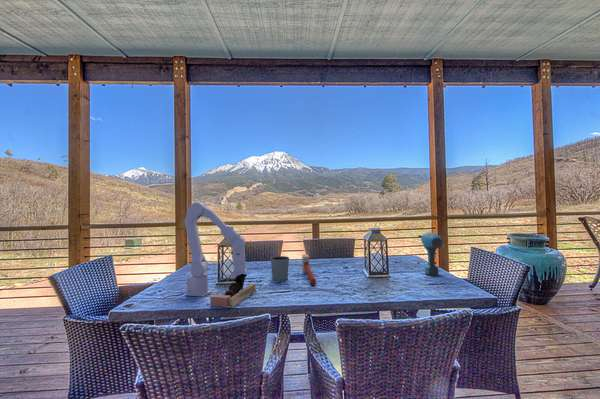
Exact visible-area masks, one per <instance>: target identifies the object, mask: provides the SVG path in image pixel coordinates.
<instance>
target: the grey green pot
mask: <svg viewBox="0 0 600 399" xmlns="http://www.w3.org/2000/svg"><path fill="white" fill-rule="evenodd" d="M289 264H290V257H289V256H284V255H283V256H281V255H279V256H278V255H276V256H272V257H270V266H271V280H272V281H273V282H280V283H281V282H286V281H287V280H288V279H289Z"/></svg>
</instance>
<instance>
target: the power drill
mask: <svg viewBox="0 0 600 399" xmlns="http://www.w3.org/2000/svg"><path fill="white" fill-rule="evenodd" d="M418 238H420V240H421V244H422V245H423V247H424V249H425V250H426V252H427V265H425V266H424V274H425V275H427V276H431V277H432V276H439V268H440V267H439V266H437V265H436V252H437V250H438V249H439V248H441V247H442V246H443V239H442V237H441V236H440V235H438V234H437V233H434V232H425V233H423V234H422V235H421V234H418Z"/></svg>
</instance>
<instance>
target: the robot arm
mask: <svg viewBox="0 0 600 399" xmlns="http://www.w3.org/2000/svg"><path fill="white" fill-rule="evenodd" d="M200 218H206V219H209V221H211V222H212V223H213V224H214V225H215V226H216V227H217V228H218V229H219V230H220V234H221V235H222V236H223V237H224V238H225V240H227V241H228V242H229V243H230V244H231V247H232V249H233V250H232V252H233V253H232V256H233V258H232V260H233V261H232V262H233V271H232V272H231V274H230V279H231V280H232V279H233V280H234V283H239V285H240V286H241V289H240V291H241V290H243V289H244V283H245V280H246V278H247V273H248V272H249V267H247V266H246V248H245V245H246V239H245V238H244V236H242V235H241V234H240V233H239V232H237V231H236V230H235V229H234V228H235V227H234V226H233V225H232V226H231V225H230V224H226V223H225V222H224V221H223V220H222V219H221V218H220V217H219V215H218V214H217V213H216V212H215V211H214V210H213V209H212V208H211V207H210V206H208V205H207V204H206V203H205V202H203V201H200V202H199V201H198V202H193V203H191V205H190V206H189V207H188V208H187V212H186V215H185V218H184V226H185V231H186V235H187V241H188V245H189V251H190V254H191V259H190V269H189V270H190V275H189V276H187V278H186V294H185V296H190V297H191V296H192V297H200V298H201V297H205V296H207V295H208V294H210V293H212V291H213V290H211V289H210V290H209V276H208V275H209V274H208V269H209V265H210V264H209V263H208V261H207V260H206V256H205V255H204V254H203V249H202V244H201V239H200V234H199V229H198V226H197V222H198V221H199V220H200Z"/></svg>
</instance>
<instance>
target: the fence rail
mask: <svg viewBox="0 0 600 399" xmlns="http://www.w3.org/2000/svg"><path fill="white" fill-rule="evenodd" d="M254 292H256V283H250V284H249V285H247V286H246V287H243V289H242V290H240V291H239V292H238V293H237V294H235V295H234V296H232V297H231V298H230V299H228V303H229V307H228V308H229V309H233V308H235V307H236V306H238V305H239V304H240V303H241V302H243V301H244V300H246V298H248V297H250V295H252V294H253V293H254Z"/></svg>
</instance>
